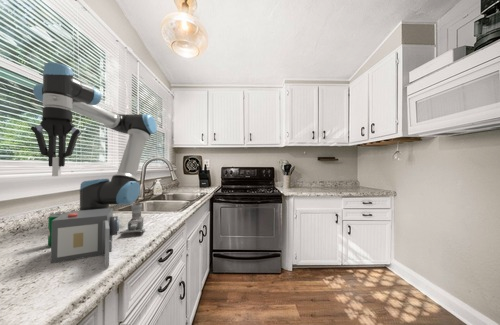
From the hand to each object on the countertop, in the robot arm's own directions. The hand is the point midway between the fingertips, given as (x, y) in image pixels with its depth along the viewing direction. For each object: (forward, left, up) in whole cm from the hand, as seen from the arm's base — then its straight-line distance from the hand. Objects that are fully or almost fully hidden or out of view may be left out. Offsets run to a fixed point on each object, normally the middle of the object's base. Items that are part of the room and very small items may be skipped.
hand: (56, 176), depth 69 cm
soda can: (-9, -2, -27) cm, 28 cm away
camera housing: (+3, +10, -26) cm, 28 cm away
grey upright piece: (-12, +24, -27) cm, 38 cm away
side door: (+16, +17, -26) cm, 35 cm away
